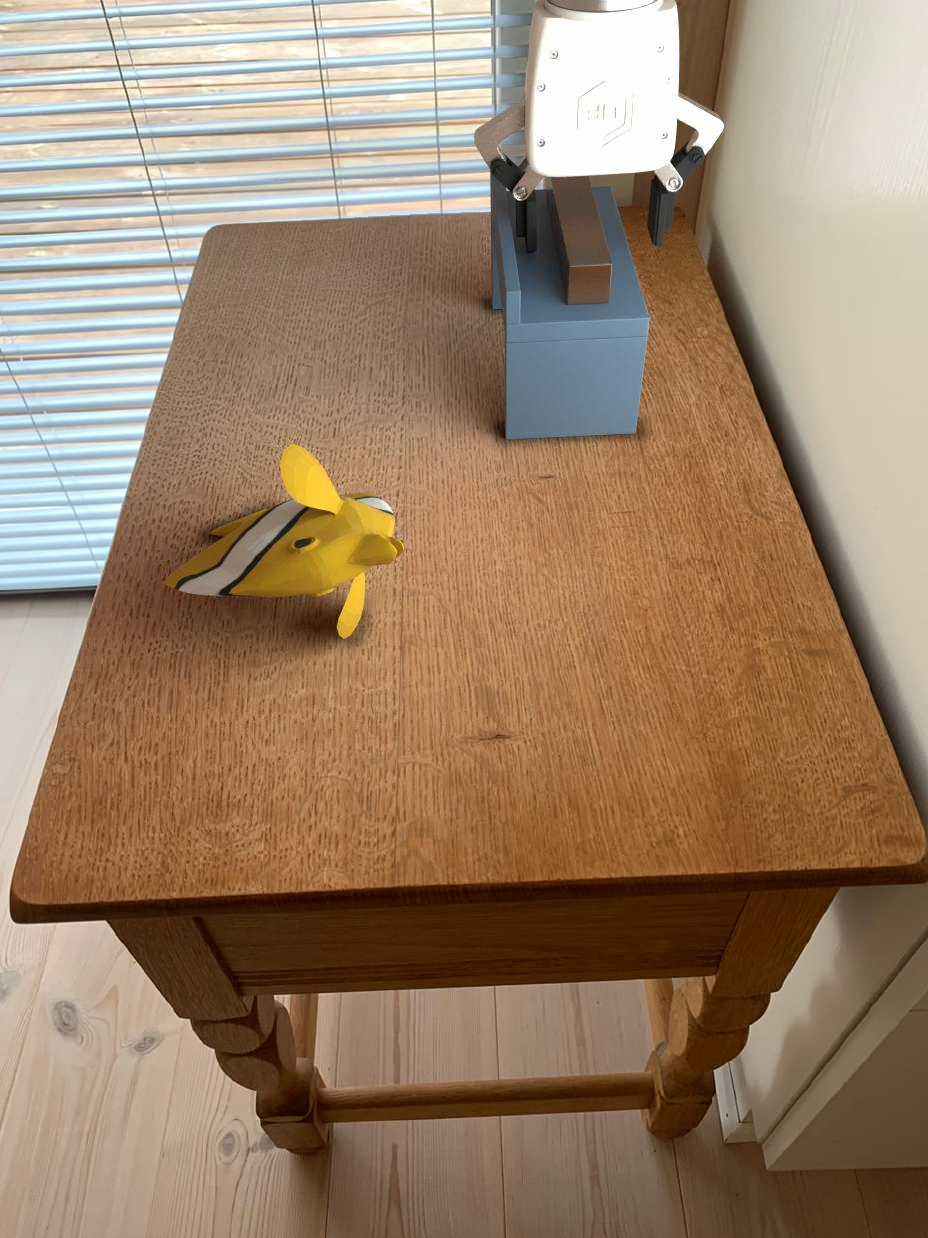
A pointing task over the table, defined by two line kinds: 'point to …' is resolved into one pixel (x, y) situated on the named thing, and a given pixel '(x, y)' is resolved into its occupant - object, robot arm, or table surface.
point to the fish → (298, 544)
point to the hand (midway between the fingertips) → (592, 240)
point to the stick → (579, 240)
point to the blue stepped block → (565, 330)
